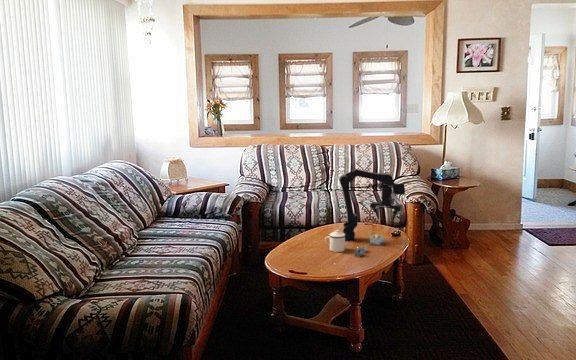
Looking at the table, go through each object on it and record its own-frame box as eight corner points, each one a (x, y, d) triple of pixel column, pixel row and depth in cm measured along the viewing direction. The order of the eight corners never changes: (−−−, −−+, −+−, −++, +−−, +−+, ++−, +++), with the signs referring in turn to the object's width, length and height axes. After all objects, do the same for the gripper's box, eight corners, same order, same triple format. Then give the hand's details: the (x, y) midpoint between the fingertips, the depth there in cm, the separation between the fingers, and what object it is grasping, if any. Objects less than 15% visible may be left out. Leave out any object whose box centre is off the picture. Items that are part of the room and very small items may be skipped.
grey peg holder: (369, 245, 284) (369, 236, 283) (370, 241, 292) (370, 232, 291) (383, 245, 282) (383, 237, 281) (383, 241, 290) (383, 233, 289)
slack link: (364, 252, 271) (364, 248, 270) (359, 252, 272) (359, 248, 271) (366, 250, 274) (366, 246, 274) (362, 250, 275) (362, 246, 275)
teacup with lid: (347, 248, 278) (347, 228, 276) (342, 253, 270) (342, 233, 268) (328, 245, 284) (328, 226, 282) (322, 250, 276) (322, 230, 274)
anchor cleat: (359, 257, 264) (359, 248, 263) (354, 256, 265) (354, 247, 264) (363, 254, 268) (363, 246, 267) (358, 253, 269) (358, 245, 269)
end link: (379, 244, 283) (380, 239, 282) (370, 243, 286) (370, 237, 285) (383, 242, 288) (383, 236, 287) (373, 240, 291) (373, 234, 290)
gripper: (406, 193, 292) (405, 219, 295) (376, 190, 301) (375, 215, 304) (400, 197, 282) (399, 223, 285) (369, 194, 292) (369, 219, 294)
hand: (386, 220), depth 292 cm, fingers open, 9 cm apart
